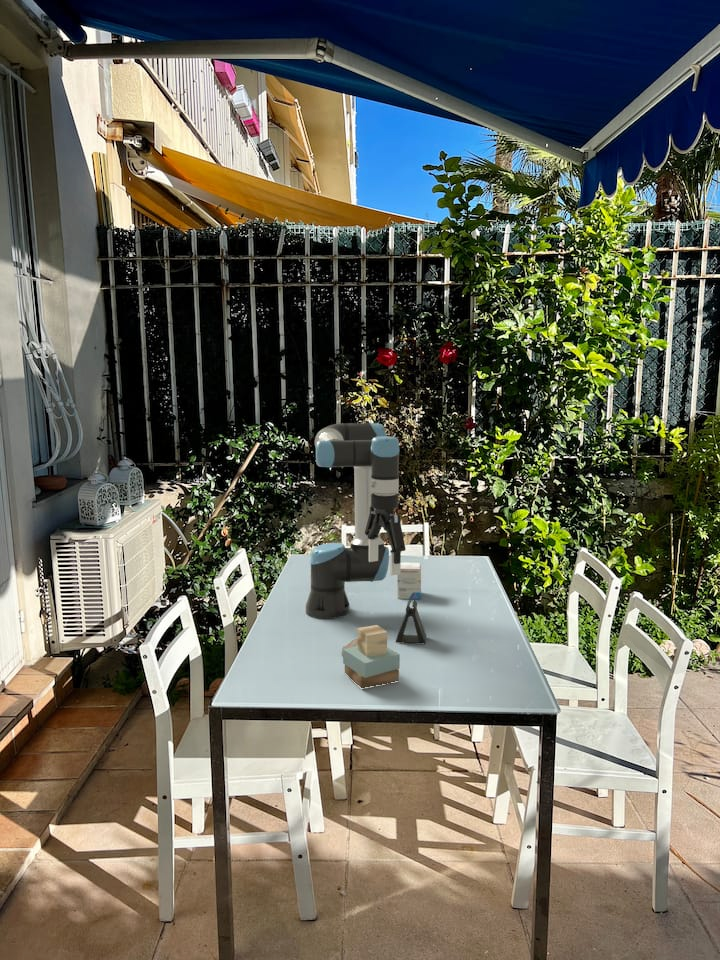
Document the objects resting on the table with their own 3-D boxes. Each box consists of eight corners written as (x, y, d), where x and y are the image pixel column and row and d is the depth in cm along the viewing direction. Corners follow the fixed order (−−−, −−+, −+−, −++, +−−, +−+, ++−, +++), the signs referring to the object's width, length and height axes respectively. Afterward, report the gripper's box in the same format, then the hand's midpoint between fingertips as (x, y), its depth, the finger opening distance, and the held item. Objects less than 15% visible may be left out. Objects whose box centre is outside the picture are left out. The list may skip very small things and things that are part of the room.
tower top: (343, 663, 194) (343, 649, 194) (376, 654, 200) (376, 641, 199) (365, 677, 185) (365, 663, 184) (399, 668, 191) (399, 654, 190)
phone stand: (395, 642, 218) (395, 604, 216) (397, 635, 224) (398, 598, 222) (424, 644, 217) (425, 606, 215) (426, 637, 222) (427, 600, 221)
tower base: (344, 675, 196) (344, 661, 195) (380, 668, 200) (380, 655, 200) (361, 691, 186) (361, 677, 185) (398, 684, 190) (398, 670, 190)
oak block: (357, 649, 194) (357, 628, 193) (377, 645, 196) (377, 624, 195) (366, 657, 188) (367, 635, 187) (387, 653, 191) (387, 632, 190)
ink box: (421, 592, 267) (421, 562, 265) (420, 599, 259) (421, 568, 257) (398, 591, 268) (398, 561, 266) (396, 598, 259) (397, 567, 258)
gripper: (353, 486, 205) (353, 557, 209) (393, 503, 183) (392, 582, 187) (376, 484, 208) (376, 554, 212) (419, 500, 186) (417, 578, 190)
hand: (384, 567), depth 199 cm, fingers open, 13 cm apart
